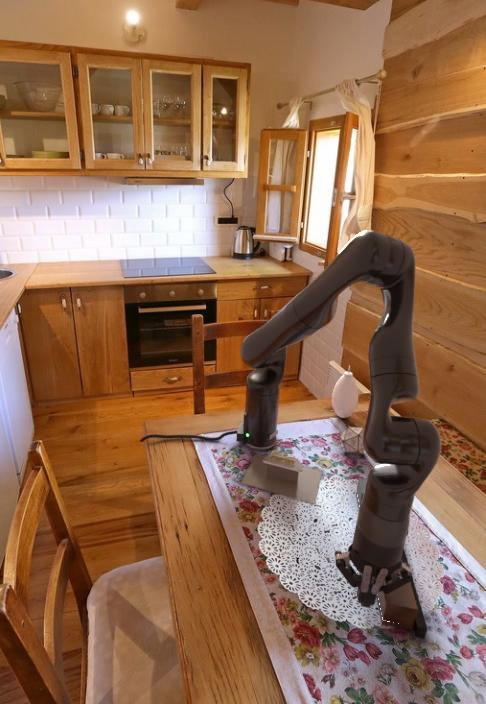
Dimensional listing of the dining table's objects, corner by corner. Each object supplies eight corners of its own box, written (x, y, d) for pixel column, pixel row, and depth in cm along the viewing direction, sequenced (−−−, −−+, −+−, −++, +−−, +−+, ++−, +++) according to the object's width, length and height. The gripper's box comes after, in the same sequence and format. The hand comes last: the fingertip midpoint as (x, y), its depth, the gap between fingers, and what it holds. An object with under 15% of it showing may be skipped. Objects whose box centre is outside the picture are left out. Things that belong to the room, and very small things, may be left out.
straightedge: (414, 637, 67) (417, 626, 66) (378, 496, 97) (379, 487, 96) (424, 639, 67) (427, 628, 66) (385, 497, 97) (386, 488, 96)
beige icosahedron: (354, 459, 115) (374, 431, 115) (362, 470, 107) (384, 439, 106) (328, 441, 116) (348, 412, 116) (333, 449, 107) (355, 418, 107)
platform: (255, 454, 111) (256, 433, 109) (322, 471, 105) (324, 450, 103) (241, 483, 100) (242, 461, 98) (314, 504, 94) (317, 481, 92)
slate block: (358, 510, 93) (361, 493, 91) (355, 494, 97) (358, 477, 96) (381, 513, 92) (385, 496, 90) (377, 497, 97) (380, 480, 95)
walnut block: (381, 624, 69) (386, 603, 67) (376, 596, 74) (380, 576, 72) (412, 630, 68) (418, 609, 67) (405, 601, 73) (410, 581, 71)
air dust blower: (331, 421, 126) (337, 369, 120) (328, 408, 134) (335, 358, 128) (357, 424, 125) (365, 372, 119) (353, 411, 132) (360, 360, 126)
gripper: (418, 515, 68) (399, 589, 74) (337, 502, 70) (324, 575, 76) (432, 553, 61) (409, 632, 67) (341, 537, 63) (327, 615, 69)
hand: (364, 602), depth 71 cm, fingers closed
